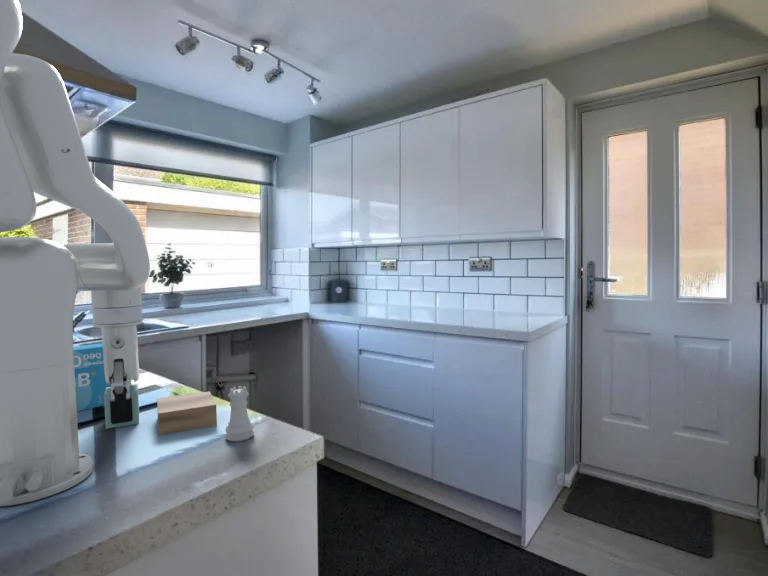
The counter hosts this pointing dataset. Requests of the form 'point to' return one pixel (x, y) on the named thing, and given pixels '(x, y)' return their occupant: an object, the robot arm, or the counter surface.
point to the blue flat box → (89, 376)
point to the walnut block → (186, 412)
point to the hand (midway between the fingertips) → (122, 415)
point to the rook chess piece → (238, 417)
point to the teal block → (134, 407)
